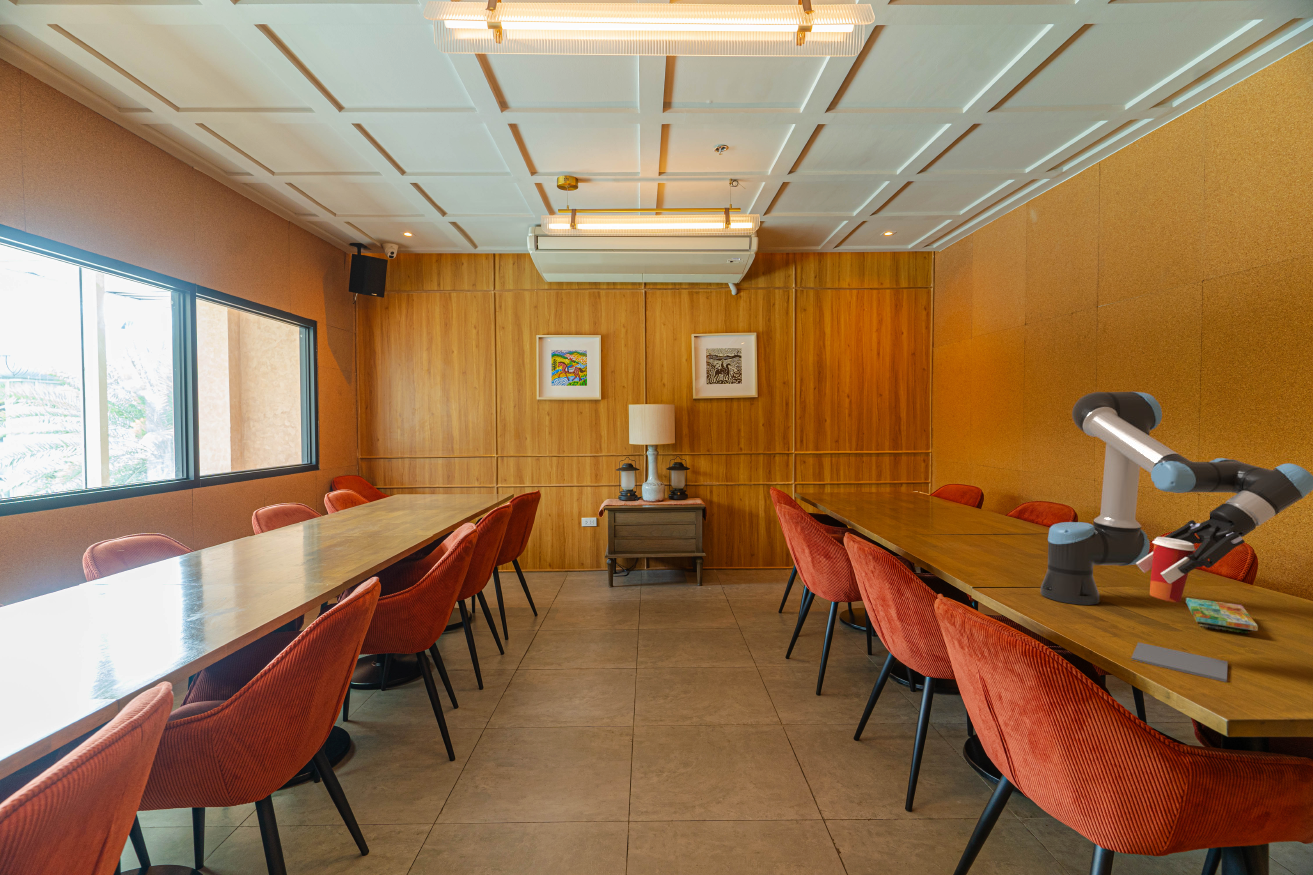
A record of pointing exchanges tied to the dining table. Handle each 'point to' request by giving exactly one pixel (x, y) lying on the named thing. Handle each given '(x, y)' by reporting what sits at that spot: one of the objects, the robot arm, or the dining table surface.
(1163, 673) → the dining table surface
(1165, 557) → the paper cup
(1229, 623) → the puzzle game
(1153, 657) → the mat
